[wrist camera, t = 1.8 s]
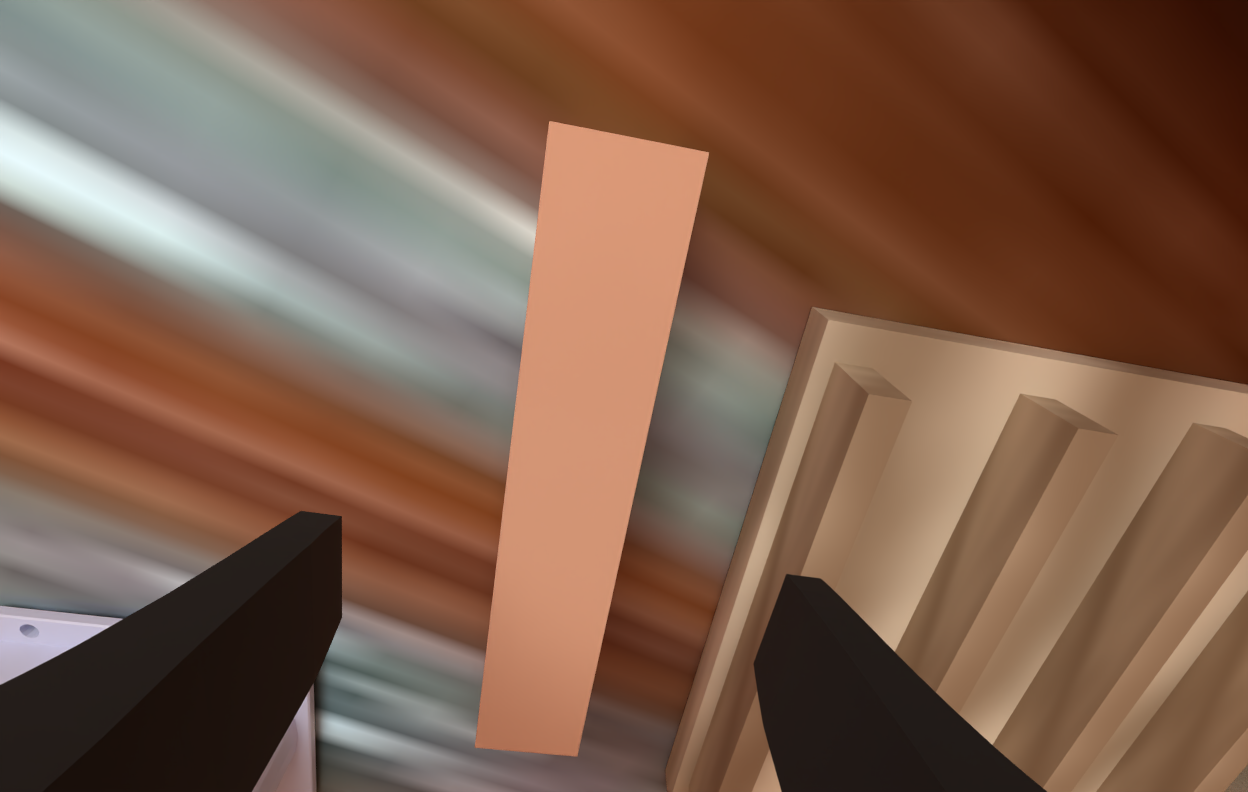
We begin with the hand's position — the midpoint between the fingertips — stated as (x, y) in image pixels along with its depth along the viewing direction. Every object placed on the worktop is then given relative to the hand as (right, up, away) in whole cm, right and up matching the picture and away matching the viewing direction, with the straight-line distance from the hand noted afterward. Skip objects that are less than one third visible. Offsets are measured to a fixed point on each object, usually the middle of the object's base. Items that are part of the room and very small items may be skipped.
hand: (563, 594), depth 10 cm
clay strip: (0, +3, +7) cm, 7 cm away
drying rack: (+13, -4, +10) cm, 16 cm away
